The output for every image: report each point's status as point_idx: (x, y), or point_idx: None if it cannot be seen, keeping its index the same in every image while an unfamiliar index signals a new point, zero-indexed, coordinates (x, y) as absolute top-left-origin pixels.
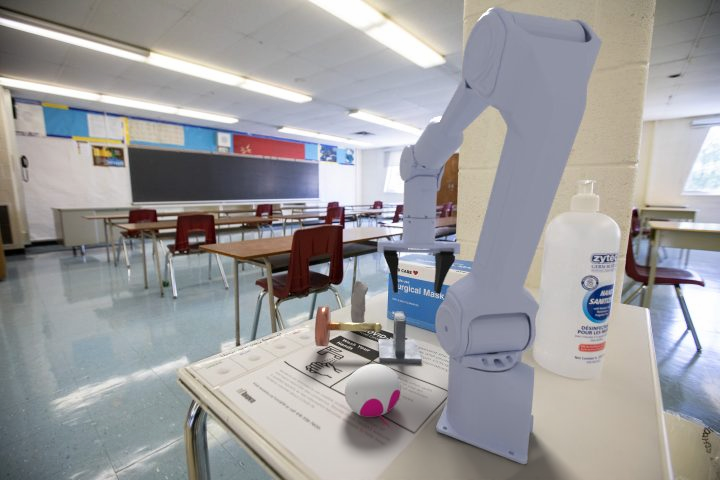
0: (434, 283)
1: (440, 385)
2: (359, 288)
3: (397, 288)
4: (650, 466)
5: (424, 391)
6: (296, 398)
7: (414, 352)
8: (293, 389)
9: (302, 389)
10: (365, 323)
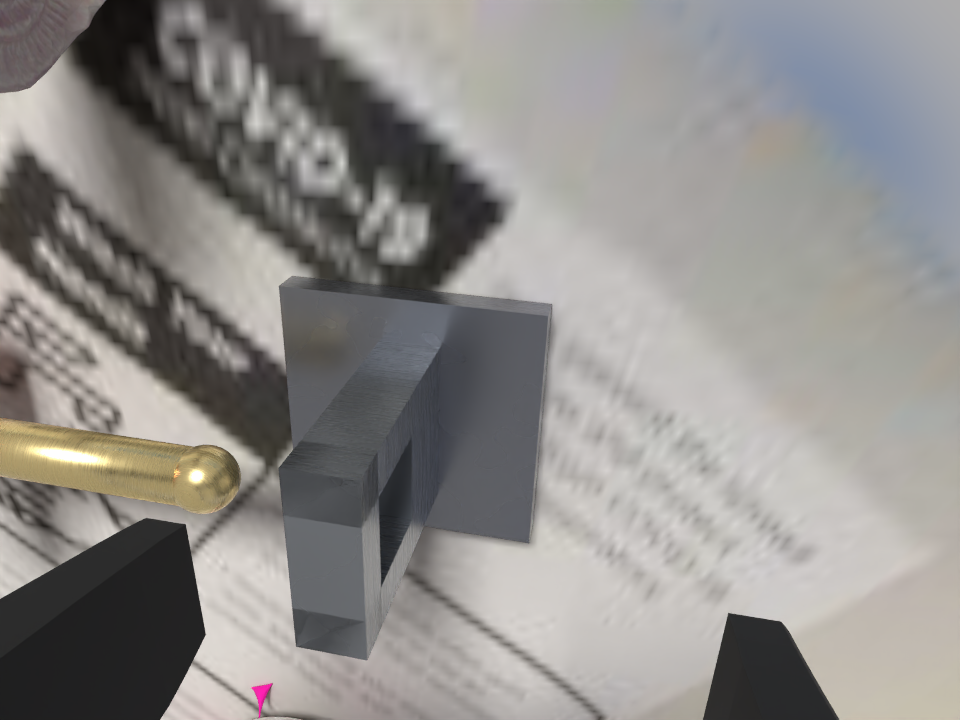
0: (747, 690)
1: (573, 678)
2: None
3: (166, 698)
4: None
5: (492, 696)
6: None
7: (502, 474)
8: None
9: None
10: (105, 484)
